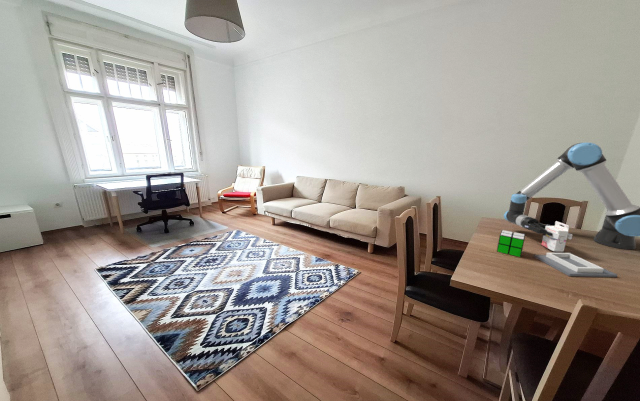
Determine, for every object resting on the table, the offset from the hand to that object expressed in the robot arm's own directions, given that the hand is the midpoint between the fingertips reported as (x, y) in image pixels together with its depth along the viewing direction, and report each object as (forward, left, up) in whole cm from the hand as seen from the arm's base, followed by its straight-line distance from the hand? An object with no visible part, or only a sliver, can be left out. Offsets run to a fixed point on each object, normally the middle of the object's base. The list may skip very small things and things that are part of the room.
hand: (565, 237), depth 118 cm
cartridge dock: (+6, +12, -10) cm, 17 cm away
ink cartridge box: (0, -5, -9) cm, 10 cm away
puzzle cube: (+24, -3, -10) cm, 26 cm away
